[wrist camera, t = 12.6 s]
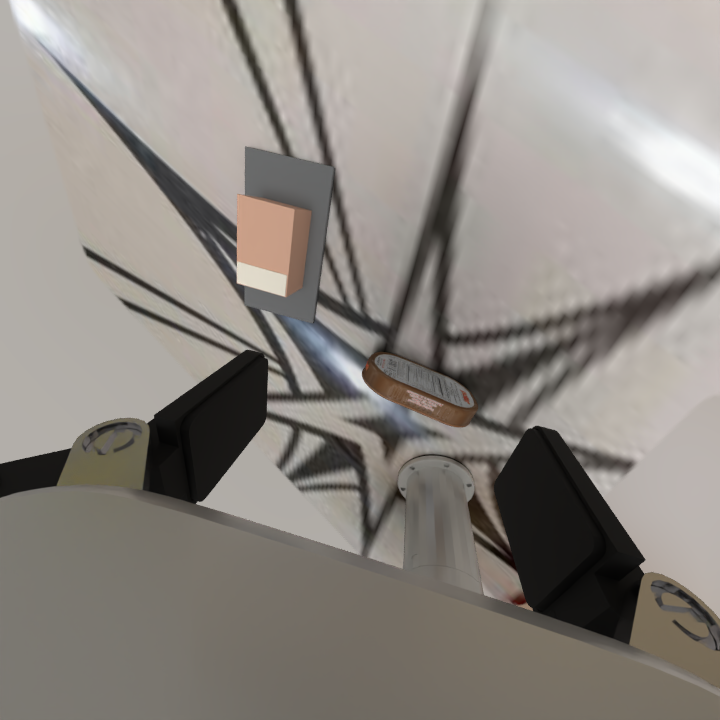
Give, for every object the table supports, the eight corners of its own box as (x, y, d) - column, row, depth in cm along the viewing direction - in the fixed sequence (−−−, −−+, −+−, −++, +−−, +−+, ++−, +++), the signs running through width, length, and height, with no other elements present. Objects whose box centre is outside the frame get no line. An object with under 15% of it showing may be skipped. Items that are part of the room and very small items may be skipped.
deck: (311, 210, 31) (294, 209, 27) (302, 287, 35) (285, 297, 31) (262, 197, 31) (236, 193, 27) (258, 275, 36) (236, 283, 31)
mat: (314, 322, 38) (312, 323, 38) (247, 303, 39) (244, 304, 38) (335, 167, 29) (333, 167, 29) (248, 147, 30) (245, 146, 30)
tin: (366, 359, 39) (354, 391, 32) (374, 340, 38) (364, 370, 30) (463, 399, 39) (473, 441, 32) (475, 382, 38) (489, 422, 30)
